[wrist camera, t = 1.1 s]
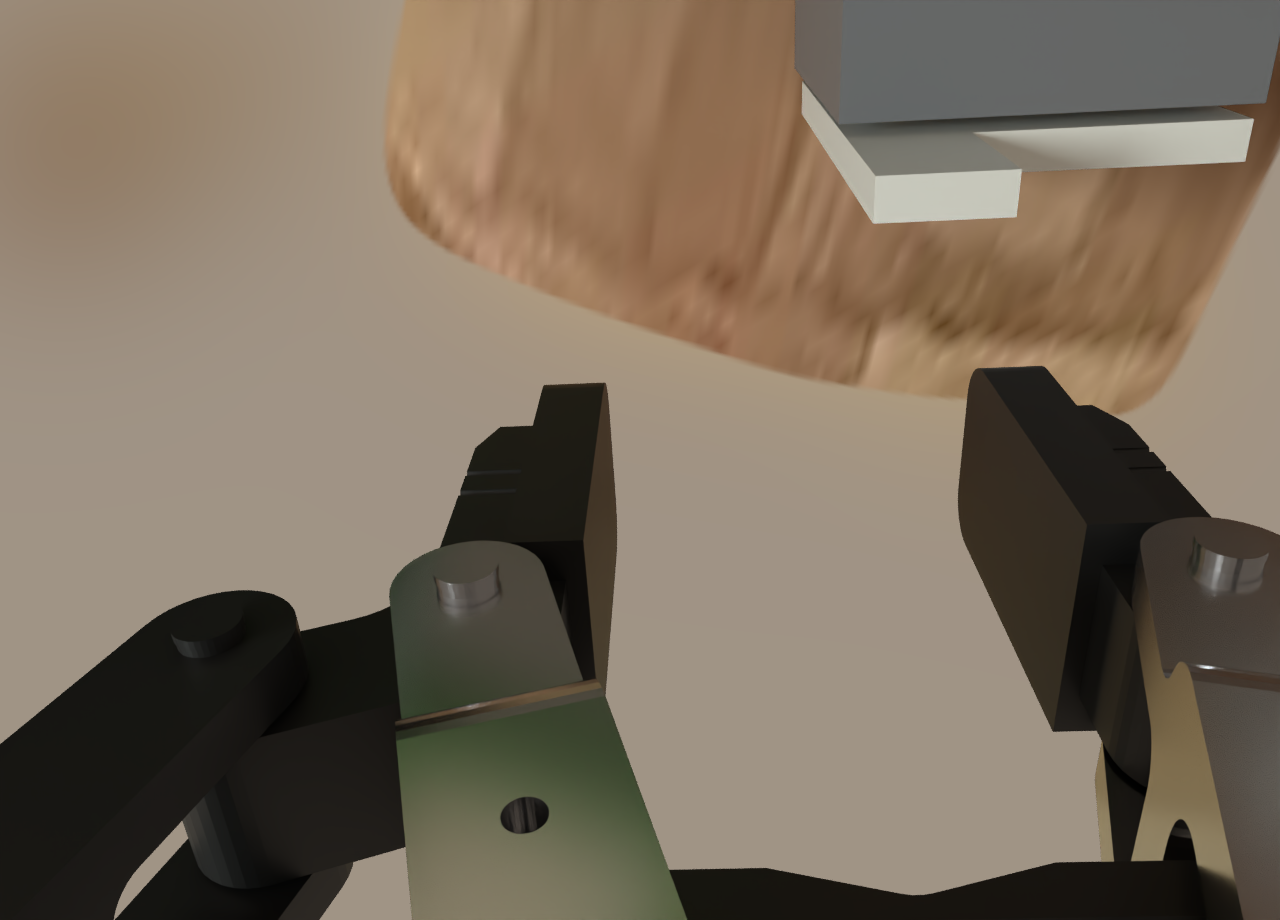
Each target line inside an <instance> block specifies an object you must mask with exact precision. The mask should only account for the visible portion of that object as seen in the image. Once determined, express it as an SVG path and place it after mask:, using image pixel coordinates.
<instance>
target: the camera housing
mask: <svg viewBox="0 0 1280 920" xmlns="http://www.w3.org/2000/svg"><path fill="white" fill-rule="evenodd" d="M1279 38H1280V0H796V7H795V69H796V71H797V72H798V73H799V74H800V76H801V77H802V78H803V79H804V81H805V82H806V83H807V84H808V86H809V87H810V88H811V90H812V91H813V92H814V93H815V95H816V96H817V97H818V98H819V100H820V101H821V102H822V103H823V105H824V106H825V107H826V109H827V110H828V111H829V112H830V114H831V115H832V116H833V117H834V119H835V120H836V121H837V122H838V124H855V123H875V122H895V121H915V120H935V119H955V118H976V117H996V116H1016V115H1036V114H1056V113H1076V112H1096V111H1116V110H1137V109H1157V108H1177V107H1197V106H1217V105H1237V104H1257V103H1266V100H1267V95H1268V90H1269V86H1270V81H1271V76H1272V71H1273V67H1274V62H1275V57H1276V52H1277V48H1278V43H1279Z"/></svg>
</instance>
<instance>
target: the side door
mask: <svg viewBox="0 0 1280 920" xmlns="http://www.w3.org/2000/svg"><path fill="white" fill-rule="evenodd" d="M802 115H803V116H804V118H805V119H806V121H807V122H808V124H809V126H810V127H811V129H812V130H813V132H814V133H815V135H816V136H817V138H818V139H819V141H820V142H821V144H822V146H823V147H824V149H825V150H826V152H827V153H828V155H829V156H830V158H831V159H832V161H833V162H834V164H835V166H836V167H837V169H838V170H839V172H840V173H841V175H842V176H843V178H844V179H845V181H846V182H847V184H848V186H849V187H850V189H851V190H852V192H853V193H854V195H855V196H856V198H857V199H858V201H859V203H860V204H861V206H862V207H863V209H864V210H865V212H866V213H867V215H868V216H869V218H870V219H871V221H872V223H873V224H876V223H898V222H920V221H942V220H964V219H986V218H1008V217H1017V208H1018V199H1019V190H1020V181H1021V172H1037V171H1058V170H1079V169H1100V168H1121V167H1142V166H1163V165H1185V164H1206V163H1227V162H1245V159H1246V155H1247V150H1248V145H1249V140H1250V135H1251V131H1252V126H1253V121H1254V119H1253V118H1250V117H1247V116H1245V115H1242V114H1239V113H1236V112H1234V111H1231V110H1228V109H1225V108H1222V107H1220V106H1197V107H1177V108H1157V109H1137V110H1116V111H1096V112H1076V113H1056V114H1036V115H1016V116H996V117H976V118H955V119H935V120H915V121H895V122H875V123H855V124H838V122H837V121H836V120H835V119H834V117H833V116H832V115H831V114H830V112H829V111H828V110H827V109H826V107H825V106H824V105H823V103H822V102H821V101H820V100H819V98H818V97H817V96H816V95H815V93H814V92H813V91H812V90H811V88H810V87H809V86H808V84H807V83H806V82H805V81H802Z"/></svg>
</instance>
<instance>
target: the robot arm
mask: <svg viewBox="0 0 1280 920" xmlns="http://www.w3.org/2000/svg"><path fill="white" fill-rule="evenodd" d="M613 470H614V469H613V457H612V442H611V428H610V414H609V402H608V393H607V387H606V383H586V384H560V385H544V386H543V389H542V393H541V396H540V400H539V404H538V408H537V412H536V416H535V420H534V424H533V426H516V427H500V428H499V429H497V430H496V431H495V432H494V433H493V434H492V435H490V436H489V437H488V438H487V439H486V440H484V441H483V442H482V443H481V444H480V445H478V446H477V447H476V448H475V451H474V453H473V456H472V459H471V462H470V465H469V468H468V470H467V476H465V479H464V482H463V484H462V487H461V495H460V496H458V498H457V501H456V505H455V507H454V510H453V513H452V516H451V518H450V521H449V524H448V527H447V529H446V532H445V535H444V538H443V541H442V544H441V547H440V548H438V549H435V550H433V551H430V552H428V553H426V554H424V555H422V556H420V557H419V558H417V559H415V560H413V561H412V562H410V563H409V564H408V565H406V566H405V567H404V568H403V569H402V570H401V571H400V572H399V573H398V574H397V576H396V577H395V579H394V580H393V582H392V584H391V587H390V596H389V598H390V607H387V608H385V609H383V610H381V611H378V612H376V613H373V614H370V615H367V616H364V617H360V618H356V619H353V620H348V621H344V622H340V623H335V624H331V625H326V626H322V627H318V628H313V629H309V630H304V631H300V629H299V625H298V621H297V617H296V614H295V611H294V609H293V607H292V606H291V605H290V604H289V603H288V602H287V601H285V600H284V599H283V598H281V597H278V596H276V595H274V594H270V593H266V592H261V591H252V590H251V591H250V590H248V591H247V590H241V591H240V590H238V591H229V592H221V593H216V594H211V595H207V596H204V597H200V598H196V599H193V600H191V601H188V602H186V603H183V604H181V605H178V606H176V607H174V608H172V609H170V610H168V611H166V612H164V613H163V614H161V615H159V616H158V617H156V618H155V619H153V620H152V621H151V622H149V623H148V624H147V625H145V626H144V627H143V628H142V629H140V630H139V631H138V632H137V633H135V634H134V635H133V636H132V637H130V638H129V639H128V640H127V641H126V642H125V643H123V644H122V645H121V646H119V647H118V648H117V649H116V650H115V651H114V652H112V653H111V654H110V655H109V656H107V657H106V658H105V659H104V660H102V661H101V662H100V663H99V664H98V665H96V666H95V667H94V668H93V669H91V670H90V671H89V672H88V673H87V674H85V675H84V676H83V677H82V678H81V679H79V680H78V681H77V682H76V683H74V684H73V685H72V686H71V687H69V688H68V689H67V690H66V691H65V692H63V693H62V694H61V695H60V696H59V697H57V698H56V699H55V700H54V701H52V702H51V703H50V704H49V705H47V706H46V707H45V708H44V709H43V710H41V711H40V712H39V713H38V714H36V716H34V717H33V718H32V719H31V720H29V721H28V722H27V723H26V724H24V725H23V726H22V727H21V728H19V729H18V730H17V731H16V732H15V733H13V734H12V735H11V736H10V737H8V738H7V739H6V740H5V741H4V742H2V743H1V744H0V920H114V915H115V910H116V907H117V904H118V901H119V898H120V896H121V894H122V892H123V890H124V888H125V886H126V884H127V882H128V881H129V879H130V878H131V876H132V875H133V874H134V872H135V871H136V870H137V869H138V868H139V866H140V865H141V864H142V863H143V862H144V861H145V860H146V859H147V858H148V857H149V856H150V855H151V854H152V852H153V851H154V850H155V849H156V848H157V847H158V846H159V845H160V844H161V843H162V842H163V841H164V840H165V838H166V837H167V836H168V835H169V834H170V833H171V832H172V831H173V830H174V829H175V828H176V827H177V826H178V824H179V823H180V822H181V821H183V824H184V826H185V830H186V832H187V835H188V839H187V840H186V842H185V843H184V844H183V845H182V846H181V847H180V848H179V849H178V850H177V852H176V853H175V854H174V855H173V856H172V857H171V858H170V859H169V861H168V862H167V863H166V864H165V865H164V866H163V867H162V868H161V869H160V871H158V873H157V874H156V875H155V876H154V877H153V878H152V879H151V880H150V882H149V883H148V884H147V885H146V886H145V887H144V888H143V889H142V890H141V892H140V893H139V894H138V895H137V896H136V897H135V898H134V899H133V900H132V901H131V903H130V904H129V905H128V906H127V907H126V908H125V909H124V910H123V911H122V912H121V914H120V915H119V916H118V917H117V918H116V919H115V920H319V919H320V918H321V916H322V915H323V914H324V912H325V911H326V909H327V908H328V907H329V905H330V904H331V902H332V901H333V900H334V898H335V897H336V895H337V894H338V892H339V891H340V890H341V888H342V887H343V885H344V883H345V882H346V880H347V878H348V876H349V874H350V872H351V869H352V866H353V862H355V861H358V860H362V859H365V858H369V857H372V856H376V855H379V854H383V853H386V852H390V851H393V850H397V849H400V848H404V847H406V857H407V868H408V879H409V891H410V900H411V913H412V920H1280V535H1278V534H1276V533H1274V532H1271V531H1269V530H1266V529H1263V528H1260V527H1257V526H1254V525H1250V524H1246V523H1243V522H1238V521H1234V520H1228V519H1221V518H1212V517H1211V516H1210V515H1209V514H1208V513H1207V512H1206V510H1205V509H1204V508H1203V507H1202V506H1201V505H1200V504H1199V503H1198V502H1197V501H1196V499H1195V498H1194V497H1193V496H1192V495H1191V494H1190V493H1189V491H1188V490H1187V489H1186V488H1185V487H1184V486H1183V485H1182V484H1181V482H1179V480H1178V479H1177V478H1176V477H1175V476H1174V475H1173V474H1172V473H1171V471H1166V466H1165V465H1164V463H1163V462H1162V461H1161V460H1160V459H1159V458H1158V457H1157V456H1156V454H1155V453H1154V452H1149V447H1148V445H1146V443H1145V442H1144V441H1143V440H1142V439H1141V438H1140V436H1139V435H1138V434H1137V433H1136V432H1135V431H1134V430H1133V429H1132V428H1131V426H1130V425H1129V424H1127V423H1125V422H1123V421H1121V420H1119V419H1118V418H1116V417H1114V416H1112V415H1110V414H1108V413H1106V412H1104V411H1102V410H1100V409H1099V408H1097V407H1095V406H1093V405H1083V406H1077V405H1076V404H1075V403H1074V402H1073V400H1072V399H1071V398H1070V397H1069V395H1068V394H1067V393H1066V392H1065V391H1064V389H1063V388H1062V387H1061V386H1060V384H1059V383H1058V382H1057V381H1056V380H1055V378H1054V377H1053V376H1052V375H1051V374H1050V372H1049V371H1048V370H1047V369H1046V368H1045V367H1043V366H1027V367H1002V368H978V369H976V370H975V371H974V372H973V374H972V376H971V379H970V383H969V388H968V396H967V408H966V417H965V428H964V438H963V448H962V458H961V468H960V479H959V489H958V511H959V521H960V527H961V532H962V536H963V540H964V542H965V545H966V547H967V549H968V551H969V553H970V555H971V558H972V560H973V562H974V564H975V566H976V568H977V570H978V572H979V575H980V577H981V579H982V581H983V583H984V585H985V587H986V589H987V592H988V594H989V596H990V598H991V600H992V602H993V605H994V607H995V609H996V611H997V613H998V615H999V617H1000V620H1001V622H1002V624H1003V626H1004V628H1005V630H1006V632H1007V635H1008V637H1009V639H1010V641H1011V643H1012V645H1013V647H1014V649H1015V651H1016V654H1017V656H1018V658H1019V660H1020V662H1021V664H1022V667H1023V669H1024V671H1025V673H1026V675H1027V677H1028V679H1029V681H1030V684H1031V686H1032V688H1033V690H1034V692H1035V694H1036V697H1037V699H1038V701H1039V703H1040V705H1041V707H1042V709H1043V711H1044V714H1045V716H1046V718H1047V720H1048V722H1049V724H1050V726H1051V729H1052V731H1053V732H1057V731H1058V732H1060V731H1097V732H1098V734H1099V736H1100V738H1101V740H1102V743H1101V748H1100V753H1099V758H1098V764H1097V768H1096V774H1095V788H1096V800H1097V813H1098V825H1099V837H1100V849H1101V861H1102V862H1064V863H1063V862H1059V863H1052V864H1048V865H1044V866H1040V867H1036V868H1032V869H1028V870H1024V871H1020V872H1016V873H1012V874H1008V875H1005V876H1000V877H996V878H992V879H989V880H984V881H981V882H977V883H973V884H969V885H965V886H961V887H957V888H953V889H949V890H945V891H941V892H937V893H933V894H927V895H905V894H899V893H894V892H889V891H883V890H878V889H873V888H867V887H862V886H857V885H852V884H847V883H841V882H836V881H831V880H826V879H821V878H815V877H810V876H805V875H800V874H795V873H789V872H784V871H778V870H774V869H768V868H744V869H695V870H694V869H692V870H669V869H668V866H667V863H666V861H665V858H664V855H663V853H662V850H661V847H660V844H659V841H658V839H657V836H656V833H655V830H654V828H653V825H652V822H651V819H650V817H649V814H648V811H647V809H646V806H645V803H644V800H643V798H642V795H641V792H640V790H639V787H638V784H637V781H636V779H635V776H634V773H633V770H632V768H631V765H630V762H629V759H628V757H627V754H626V751H625V749H624V746H623V743H622V740H621V738H620V735H619V732H618V729H617V727H616V724H615V721H614V718H613V716H612V713H611V710H610V708H609V705H608V702H607V699H606V697H605V694H606V681H607V667H608V656H609V643H610V642H609V641H610V631H611V618H612V605H613V593H614V580H615V567H616V553H617V514H616V497H615V483H614V471H613Z"/></svg>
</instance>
